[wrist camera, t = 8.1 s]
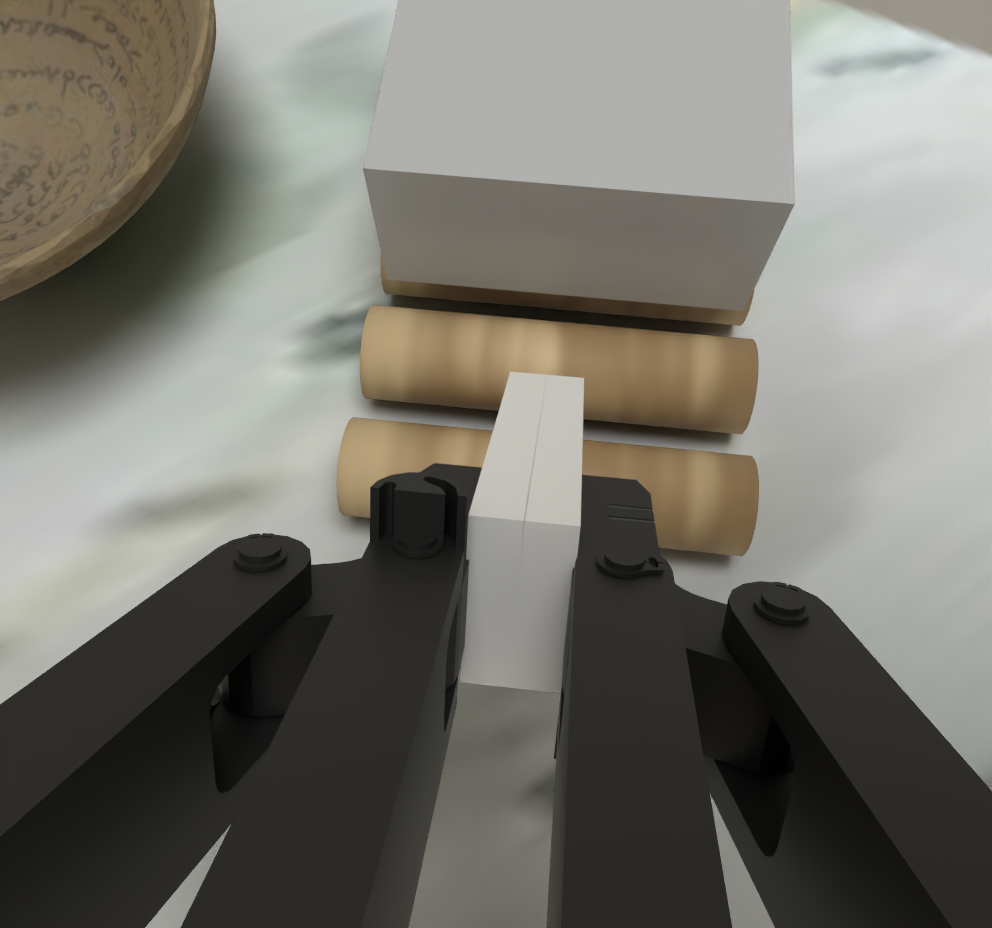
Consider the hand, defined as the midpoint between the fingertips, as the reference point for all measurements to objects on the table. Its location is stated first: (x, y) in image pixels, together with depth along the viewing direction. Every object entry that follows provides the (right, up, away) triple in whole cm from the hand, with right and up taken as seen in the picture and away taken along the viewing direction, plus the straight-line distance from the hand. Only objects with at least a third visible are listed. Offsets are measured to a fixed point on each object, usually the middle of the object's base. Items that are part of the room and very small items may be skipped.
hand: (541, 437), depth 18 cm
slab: (+2, +9, +11) cm, 14 cm away
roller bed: (+1, +4, +12) cm, 13 cm away
